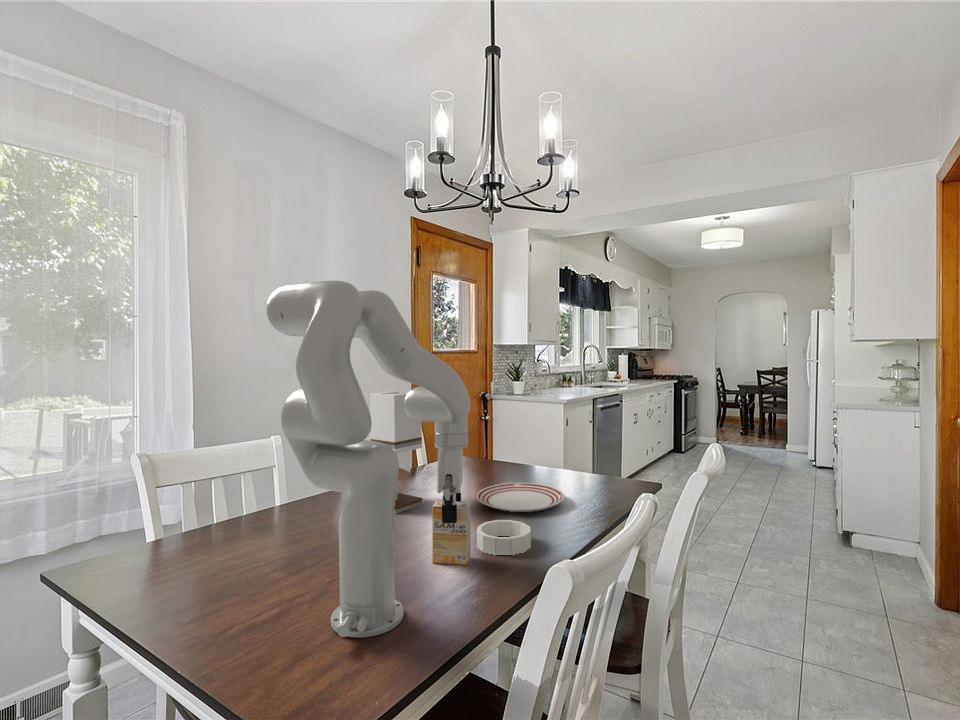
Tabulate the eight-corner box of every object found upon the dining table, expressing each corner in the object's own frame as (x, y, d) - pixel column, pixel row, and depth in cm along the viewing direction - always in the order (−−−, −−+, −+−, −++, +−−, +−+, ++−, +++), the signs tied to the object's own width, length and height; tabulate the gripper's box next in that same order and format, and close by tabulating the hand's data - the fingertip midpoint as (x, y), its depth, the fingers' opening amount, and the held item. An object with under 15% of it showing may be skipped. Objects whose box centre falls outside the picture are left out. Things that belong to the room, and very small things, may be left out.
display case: (395, 514, 148) (394, 395, 148) (371, 507, 154) (370, 393, 154) (422, 504, 157) (421, 392, 157) (398, 499, 164) (397, 391, 163)
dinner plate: (556, 522, 140) (555, 510, 140) (463, 513, 149) (463, 502, 149) (570, 495, 166) (570, 485, 166) (491, 489, 175) (491, 480, 175)
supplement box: (431, 564, 112) (430, 505, 112) (436, 555, 117) (436, 499, 117) (468, 566, 111) (467, 507, 111) (471, 557, 116) (471, 500, 116)
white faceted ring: (531, 556, 116) (531, 538, 116) (475, 555, 117) (475, 538, 117) (529, 535, 129) (529, 520, 129) (479, 535, 130) (479, 519, 130)
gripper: (440, 433, 123) (441, 504, 123) (428, 446, 106) (429, 529, 106) (470, 433, 123) (471, 504, 123) (464, 447, 105) (464, 529, 105)
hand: (452, 515), depth 114 cm, fingers open, 8 cm apart
